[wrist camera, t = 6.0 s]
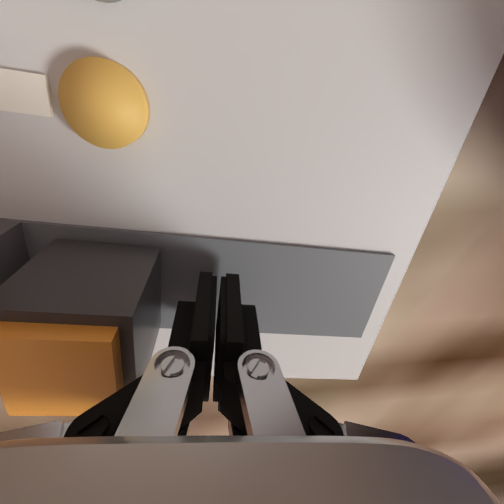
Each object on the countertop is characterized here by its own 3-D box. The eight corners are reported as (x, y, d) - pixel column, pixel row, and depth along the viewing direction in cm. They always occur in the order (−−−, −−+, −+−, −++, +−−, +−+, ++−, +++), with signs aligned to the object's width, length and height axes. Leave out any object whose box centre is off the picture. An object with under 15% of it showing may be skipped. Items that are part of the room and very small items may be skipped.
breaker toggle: (160, 248, 12) (125, 332, 8) (161, 323, 14) (133, 423, 10) (54, 238, 11) (-45, 324, 7) (69, 318, 13) (-3, 423, 9)
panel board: (580, -179, 8) (788, -338, 5) (351, 365, 18) (376, 420, 15) (-177, -438, 6) (-624, -1028, 3) (38, 355, 16) (-6, 418, 13)
